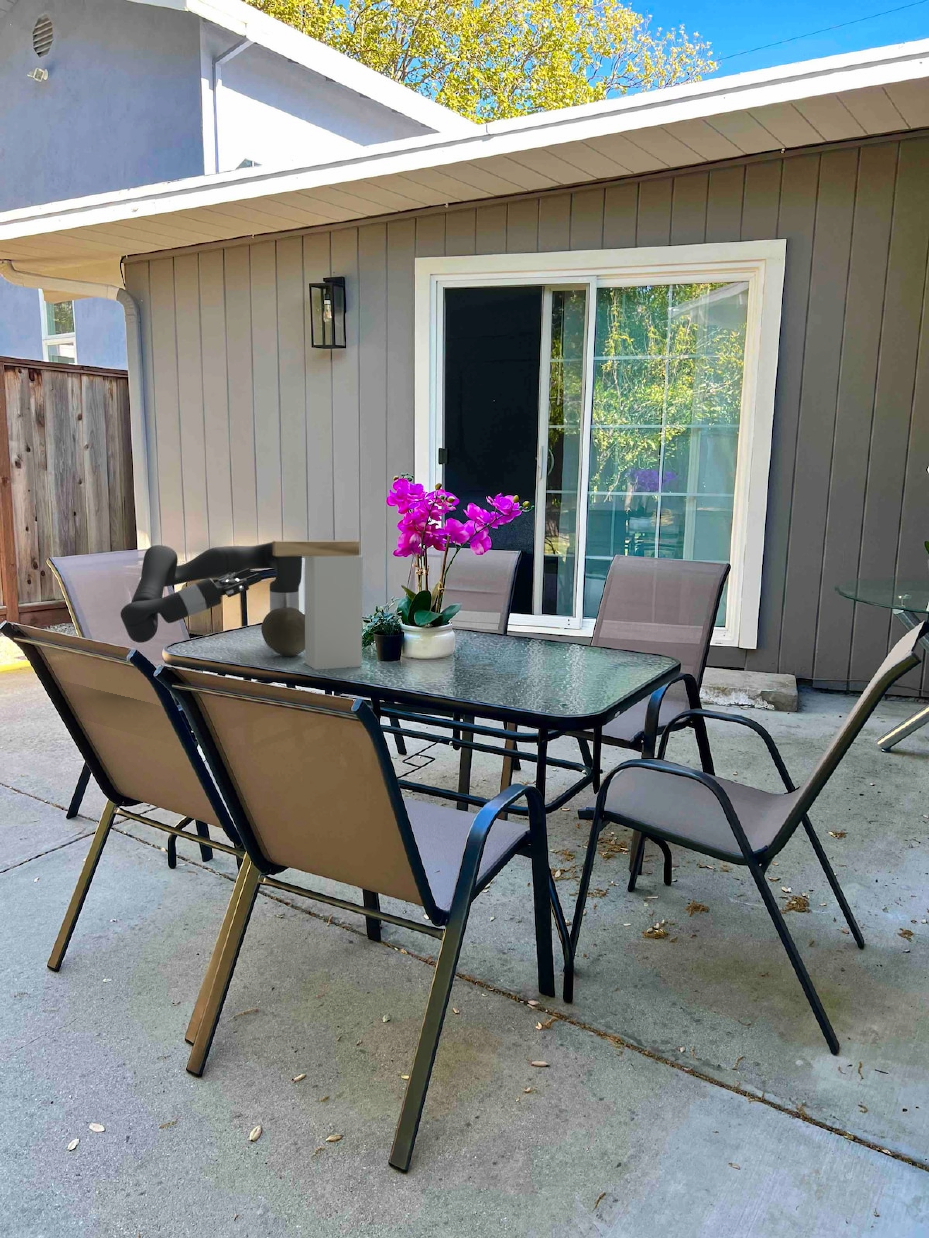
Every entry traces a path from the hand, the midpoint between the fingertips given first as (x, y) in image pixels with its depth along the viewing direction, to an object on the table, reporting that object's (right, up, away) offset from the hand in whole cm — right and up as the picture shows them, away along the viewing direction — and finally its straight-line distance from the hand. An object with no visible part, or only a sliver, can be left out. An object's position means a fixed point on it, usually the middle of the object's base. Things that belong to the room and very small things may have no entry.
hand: (255, 574), depth 239 cm
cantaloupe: (+3, -24, +27) cm, 36 cm away
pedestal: (+19, -26, +17) cm, 36 cm away
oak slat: (+15, +6, +10) cm, 19 cm away
